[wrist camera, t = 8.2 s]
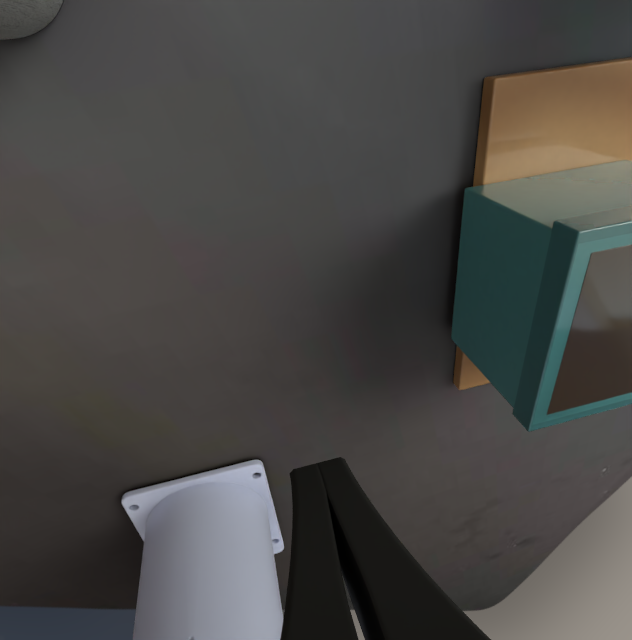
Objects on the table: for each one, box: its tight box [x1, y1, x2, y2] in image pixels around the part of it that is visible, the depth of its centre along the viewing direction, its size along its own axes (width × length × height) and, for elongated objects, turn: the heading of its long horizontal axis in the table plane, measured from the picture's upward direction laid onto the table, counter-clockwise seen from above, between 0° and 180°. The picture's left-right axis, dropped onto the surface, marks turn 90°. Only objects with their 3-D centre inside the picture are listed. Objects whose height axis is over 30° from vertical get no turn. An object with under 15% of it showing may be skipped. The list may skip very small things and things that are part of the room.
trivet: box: [453, 57, 632, 390], centre depth 21 cm, size 16×12×1 cm
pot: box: [451, 160, 632, 432], centre depth 18 cm, size 9×6×8 cm
